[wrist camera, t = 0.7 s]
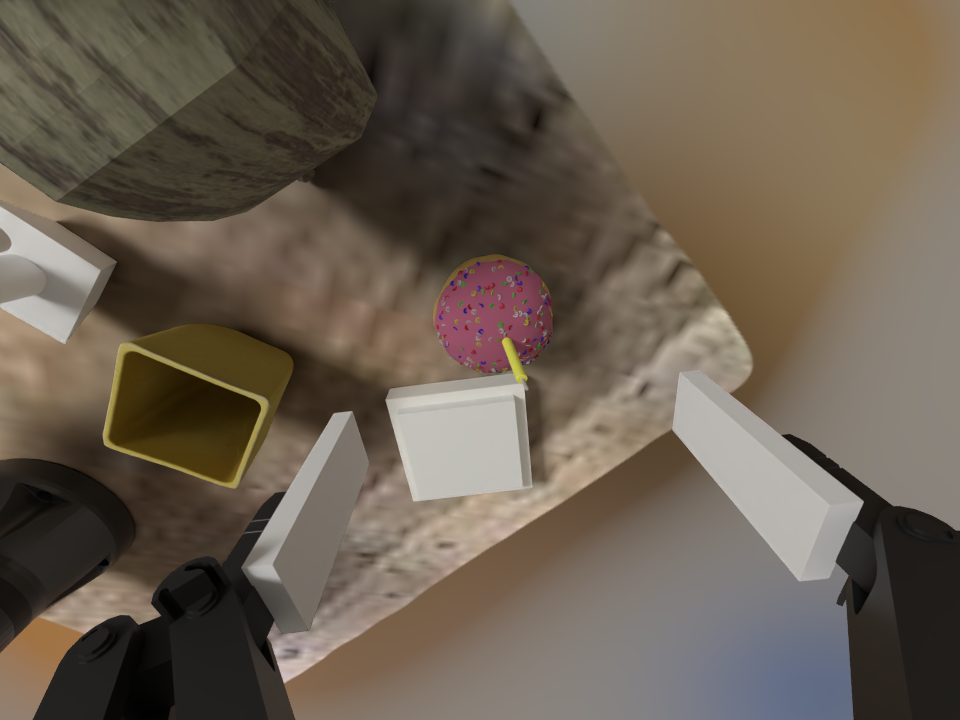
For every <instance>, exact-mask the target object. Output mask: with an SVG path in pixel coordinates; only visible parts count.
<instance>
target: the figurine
mask: <svg viewBox="0 0 960 720" xmlns="http://www.w3.org/2000/svg"><path fill="white" fill-rule="evenodd" d="M116 264H117V261H115V260H114V259H112V258H111V257H109V256H108V255H106V254H105V253H103V252H102V251H100V250H98V249H97V248H95V247H94V246H92V245H91V244H89V243H88V242H86V241H85V240H83V239H82V238H80V237H79V236H77V235H76V234H74V233H72V232H71V231H69V230H68V229H66V228H65V227H63V226H62V225H60V224H59V223H57V222H56V221H53V220H51V219H48V218H46V217H43V216H40V215H38V214H35V213H33V212H30V211H27V210H25V209H22V208H20V207H17V206H15V205H12V204H9V203H7V202H4V201H2V200H0V308H1V309H3V310H5V311H7V312H8V313H10V314H12V315H14V316H16V317H17V318H19V319H21V320H23V321H24V322H26V323H28V324H30V325H32V326H33V327H35V328H37V329H39V330H40V331H42V332H44V333H46V334H48V335H49V336H51V337H53V338H55V339H56V340H58V341H60V342H62V343H64V344H65V343H66V342H67V341H68V340H69V338H70V337H71V336H72V334H73V333H74V332H75V330H76V329H77V328H78V327H79V325H80V324H81V323H82V321H83V320H84V319H85V318H86V316H87V315H88V314H89V312H90V311H91V310H92V309H93V307H94V306H95V305H96V303H97V302H98V300H99V298H100V296H101V294H102V292H103V290H104V288H105V286H106V284H107V282H108V280H109V278H110V276H111V274H112V272H113V270H114V268H115V266H116Z"/></svg>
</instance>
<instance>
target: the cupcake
mask: <svg viewBox="0 0 960 720" xmlns="http://www.w3.org/2000/svg"><path fill="white" fill-rule="evenodd" d="M552 317H553V315H552V301H551V296H550V293H549V290H548V288H547V286H546V284H545V283H544V282H543V281H542V279H541V278H540V276H539V275H538V274H537V273H535V272H534V271H533V270H532V268H531V267H530V266H529V265H528V264H526V263H524V262H522V261H519V260H516V259H512V258H509V257H507V256H503V255H499V254H490V255H486V256H481V257H476V258H472V259H469V260H467V261H465V262H463V263H462V264H461V265H459V266H458V267H457V268H456V269H455V270H454V271H453V272H452V273H451V275H450V276H449V277H448V279H447V280H446V282H445V284H444V286H443V288H442V290H441V292H440V294H439V296H438V298H437V300H436V302H435V305H434V311H433V323H434V327H435V330H436V332H437V336H438V337H439V339H440V344H443V346H444V347H445V349H446V351H447V352H448V354H449V357H450V358H453V359H454V360H456V361H457V362H459V363H460V364H461V365H462V364H463V365H465V366H467V367H469V368H471V369H474V370H476V371H477V372H480V373H483V372H485V373H496V374H498V373H502V372H506V371H513V373H514V375H515V378H516V381H517V382H518V383H520V384H523V386H524V388H525V390H526V391H528V390H529V388H528V386H527V384H526V381H527V379H528V378H527V375H526V372H525V370H524V368H523V365H524V364H529V363H531V361H532V360H535V358H536V357H538V354H541V352H542V350H546V349H547V346H546V344H549V339H550V337H551V336H552V335H553V323H552ZM441 342H442V343H441ZM544 348H546V349H544Z"/></svg>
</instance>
